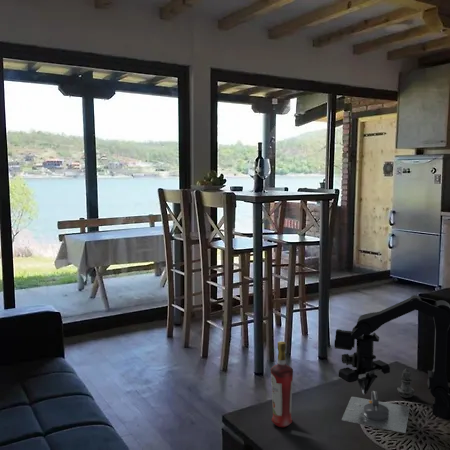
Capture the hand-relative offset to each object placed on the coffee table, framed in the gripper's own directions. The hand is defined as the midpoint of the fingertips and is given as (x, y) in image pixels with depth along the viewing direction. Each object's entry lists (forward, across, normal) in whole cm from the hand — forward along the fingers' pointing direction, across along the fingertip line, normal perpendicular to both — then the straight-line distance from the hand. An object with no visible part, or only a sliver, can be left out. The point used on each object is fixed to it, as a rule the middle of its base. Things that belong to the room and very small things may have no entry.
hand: (364, 393), depth 170 cm
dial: (+3, 0, +6) cm, 7 cm away
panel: (+5, +1, +8) cm, 9 cm away
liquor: (+5, +32, -3) cm, 33 cm away
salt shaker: (+5, -17, +3) cm, 18 cm away
